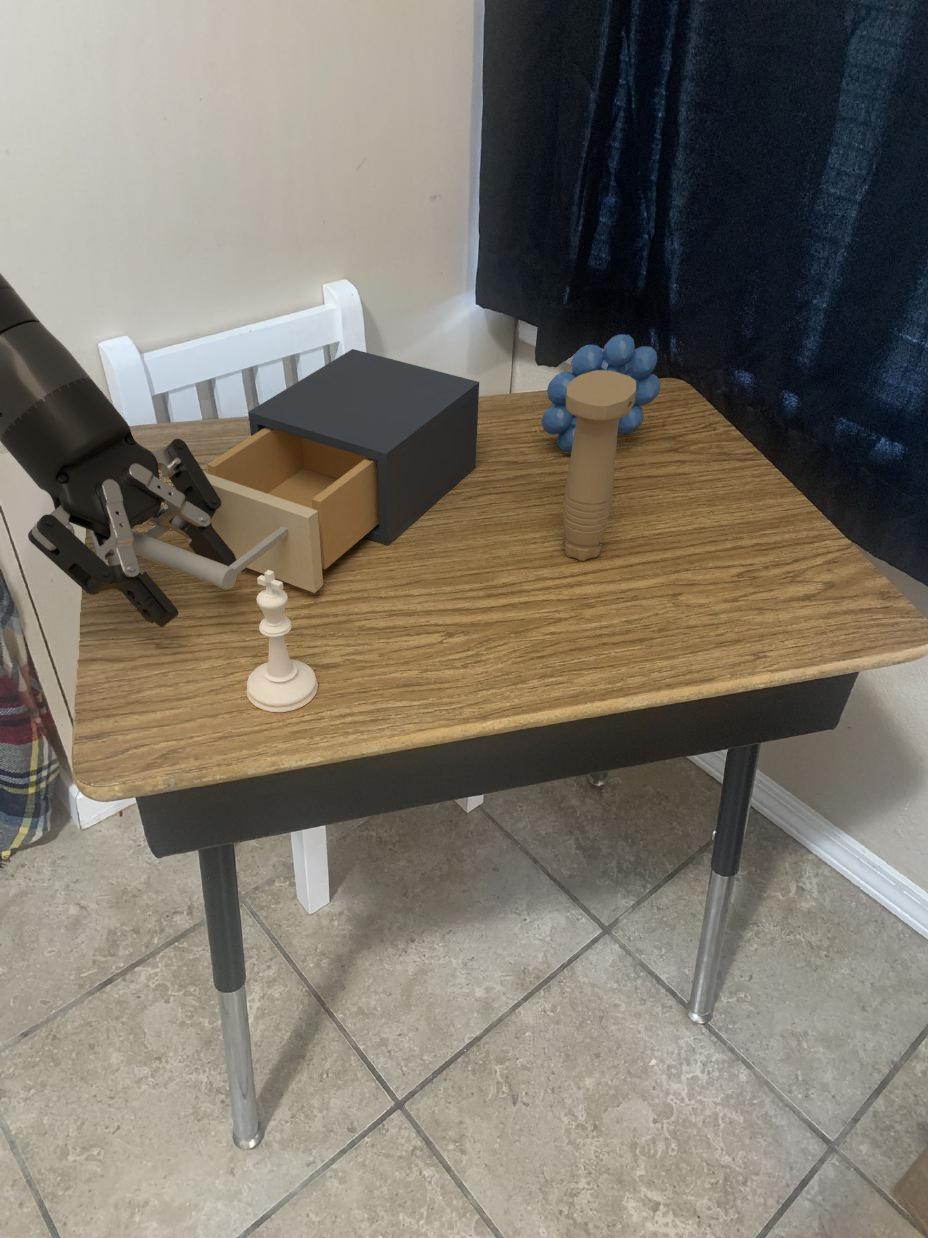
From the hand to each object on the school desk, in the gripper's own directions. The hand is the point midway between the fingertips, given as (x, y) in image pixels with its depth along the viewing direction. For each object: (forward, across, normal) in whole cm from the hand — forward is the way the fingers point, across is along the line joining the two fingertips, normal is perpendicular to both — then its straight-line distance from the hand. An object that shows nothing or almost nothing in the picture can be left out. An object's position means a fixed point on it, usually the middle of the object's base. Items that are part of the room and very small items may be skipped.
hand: (200, 596), depth 71 cm
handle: (+17, +25, -11) cm, 32 cm away
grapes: (+12, +42, -7) cm, 45 cm away
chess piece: (+9, -2, -3) cm, 9 cm away
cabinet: (+1, +25, +4) cm, 25 cm away
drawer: (+1, +11, +3) cm, 11 cm away
